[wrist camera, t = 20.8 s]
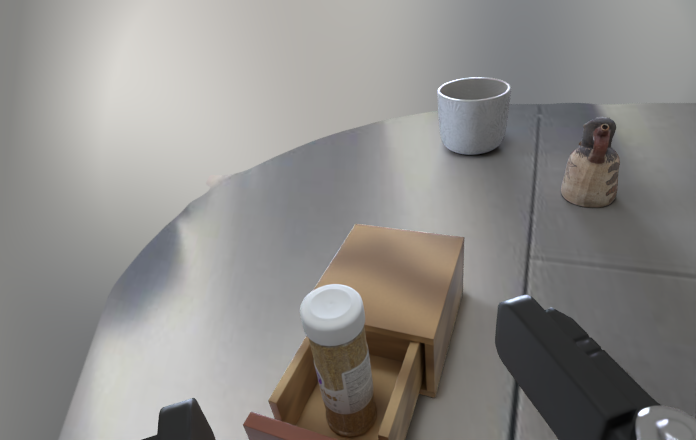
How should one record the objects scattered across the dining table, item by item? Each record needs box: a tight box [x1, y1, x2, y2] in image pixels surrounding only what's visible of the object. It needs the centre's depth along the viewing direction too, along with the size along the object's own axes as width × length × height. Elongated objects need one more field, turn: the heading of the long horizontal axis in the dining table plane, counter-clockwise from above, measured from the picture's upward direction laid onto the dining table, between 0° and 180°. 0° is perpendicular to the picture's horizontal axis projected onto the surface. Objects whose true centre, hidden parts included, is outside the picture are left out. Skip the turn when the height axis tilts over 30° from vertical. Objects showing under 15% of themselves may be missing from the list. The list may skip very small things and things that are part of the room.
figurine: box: [561, 117, 620, 208], centre depth 62 cm, size 7×7×12 cm
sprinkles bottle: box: [300, 284, 377, 437], centre depth 35 cm, size 5×5×13 cm
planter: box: [437, 77, 511, 155], centre depth 81 cm, size 12×12×11 cm
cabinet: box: [314, 224, 464, 398], centre depth 47 cm, size 15×13×8 cm
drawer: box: [243, 331, 426, 440], centre depth 37 cm, size 18×11×6 cm, turn 158°
